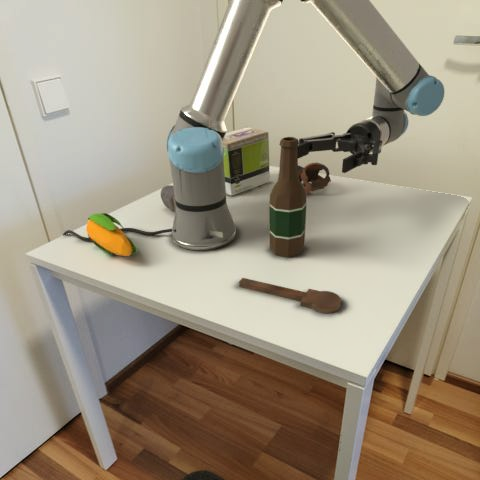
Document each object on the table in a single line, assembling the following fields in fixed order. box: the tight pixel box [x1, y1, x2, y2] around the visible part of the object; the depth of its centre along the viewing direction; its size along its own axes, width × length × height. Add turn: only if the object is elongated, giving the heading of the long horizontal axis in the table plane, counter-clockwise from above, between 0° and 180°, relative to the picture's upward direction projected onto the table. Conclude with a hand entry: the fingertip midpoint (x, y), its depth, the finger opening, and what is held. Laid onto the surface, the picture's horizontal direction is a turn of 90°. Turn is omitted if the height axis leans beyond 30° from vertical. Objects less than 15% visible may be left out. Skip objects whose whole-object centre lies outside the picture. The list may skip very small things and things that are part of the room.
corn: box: [85, 212, 138, 257], centre depth 103 cm, size 7×8×20 cm
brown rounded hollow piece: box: [298, 162, 332, 195], centre depth 129 cm, size 12×10×8 cm
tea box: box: [222, 126, 271, 197], centre depth 130 cm, size 15×10×15 cm, turn 130°
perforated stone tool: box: [160, 184, 176, 214], centre depth 119 cm, size 15×5×7 cm, turn 38°
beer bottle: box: [268, 136, 307, 258], centre depth 94 cm, size 8×8×24 cm
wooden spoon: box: [238, 277, 342, 314], centre depth 86 cm, size 20×6×1 cm, turn 63°
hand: (316, 160), depth 96 cm, fingers open, 13 cm apart
